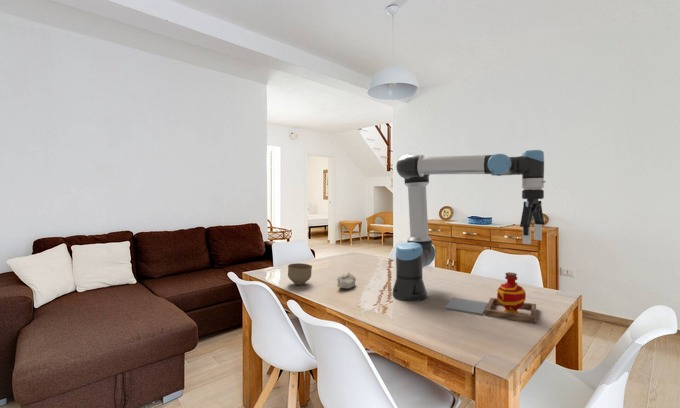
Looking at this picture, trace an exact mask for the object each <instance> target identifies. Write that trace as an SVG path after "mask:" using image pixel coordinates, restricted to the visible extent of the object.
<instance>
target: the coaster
mask: <svg viewBox="0 0 680 408" xmlns="http://www.w3.org/2000/svg"><path fill="white" fill-rule="evenodd" d="M487 304H488V302H483V301H479V300H478V301H477V300H471V299H465V298H458V297H452V298H451V299H450V300H449V302H447V304H446V305H445V307H444V310H450V311H456V312H463V313H467V314H472V315H479V316H483V315H484V314H485V308H486V306H487Z"/></svg>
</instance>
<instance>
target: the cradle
mask: <svg viewBox="0 0 680 408" xmlns="http://www.w3.org/2000/svg"><path fill="white" fill-rule="evenodd" d="M487 303H488V304H487V306H486V308H485V311H484V315H485V316H490V317H494V318H500V319H506V320H513V321H517V322H518V321H519V322H523V323H524V322H525V323H531V324H536V321H537V320H536V319H537V304H536V303H531V302H526V301H524V304H523V305H522V306H521V308H520V309H526V310H530V315H528V314H522V313H518V314H517V313H510V312H504V311H503V310H496V309H493V308H494V305H500V306H502V305H501V303H500V302H498V300H497V297H489V301H488V302H487Z"/></svg>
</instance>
